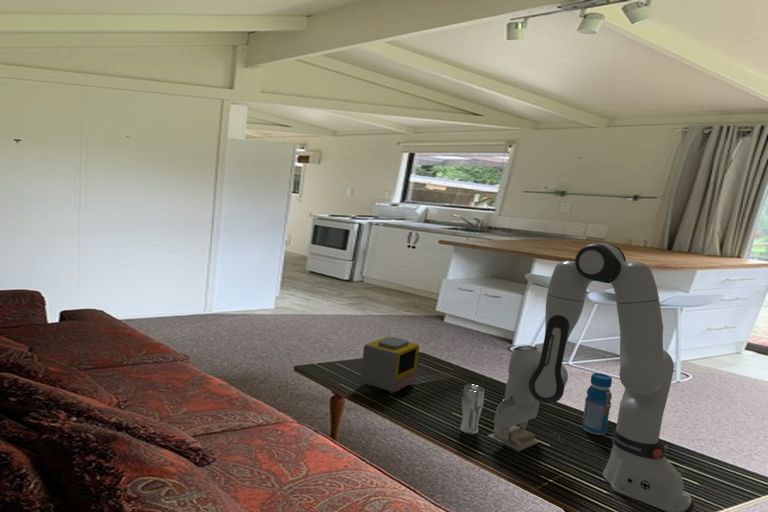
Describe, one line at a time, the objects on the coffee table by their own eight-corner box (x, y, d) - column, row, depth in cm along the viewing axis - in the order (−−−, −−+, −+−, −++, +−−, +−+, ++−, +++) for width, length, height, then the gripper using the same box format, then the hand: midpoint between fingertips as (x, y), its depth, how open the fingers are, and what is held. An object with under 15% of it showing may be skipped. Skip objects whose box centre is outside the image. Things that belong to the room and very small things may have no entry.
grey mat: (539, 443, 167) (539, 441, 167) (518, 452, 159) (519, 451, 159) (508, 429, 176) (508, 427, 175) (487, 437, 167) (487, 435, 167)
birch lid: (533, 443, 165) (535, 434, 165) (522, 448, 161) (523, 439, 160) (505, 429, 173) (506, 421, 173) (493, 434, 169) (494, 425, 168)
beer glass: (479, 437, 166) (485, 393, 165) (457, 433, 168) (463, 389, 166) (479, 429, 173) (485, 386, 172) (458, 425, 174) (464, 382, 173)
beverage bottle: (586, 434, 178) (594, 378, 176) (577, 423, 186) (585, 370, 184) (610, 436, 178) (619, 381, 176) (600, 426, 186) (609, 373, 184)
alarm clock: (393, 398, 193) (398, 350, 191) (358, 386, 201) (363, 341, 199) (417, 384, 210) (422, 341, 208) (384, 374, 218) (388, 332, 216)
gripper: (509, 404, 156) (503, 447, 158) (544, 392, 170) (538, 432, 171) (492, 397, 161) (486, 438, 162) (527, 386, 175) (522, 424, 176)
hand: (513, 435), depth 167 cm, fingers closed on birch lid, 7 cm apart
